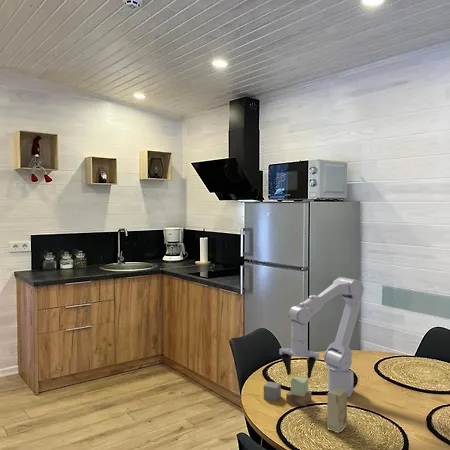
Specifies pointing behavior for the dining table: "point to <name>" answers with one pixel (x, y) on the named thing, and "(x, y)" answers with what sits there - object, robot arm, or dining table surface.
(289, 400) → the walnut block
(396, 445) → the dining table surface
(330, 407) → the skincare box
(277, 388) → the grey cube
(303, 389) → the sage cube
